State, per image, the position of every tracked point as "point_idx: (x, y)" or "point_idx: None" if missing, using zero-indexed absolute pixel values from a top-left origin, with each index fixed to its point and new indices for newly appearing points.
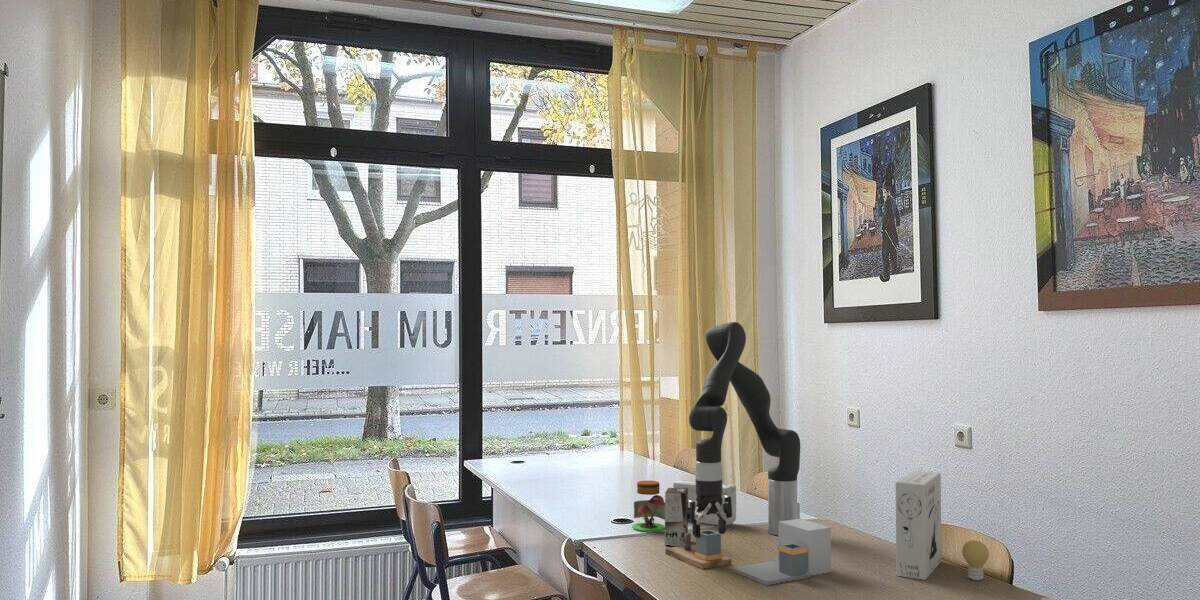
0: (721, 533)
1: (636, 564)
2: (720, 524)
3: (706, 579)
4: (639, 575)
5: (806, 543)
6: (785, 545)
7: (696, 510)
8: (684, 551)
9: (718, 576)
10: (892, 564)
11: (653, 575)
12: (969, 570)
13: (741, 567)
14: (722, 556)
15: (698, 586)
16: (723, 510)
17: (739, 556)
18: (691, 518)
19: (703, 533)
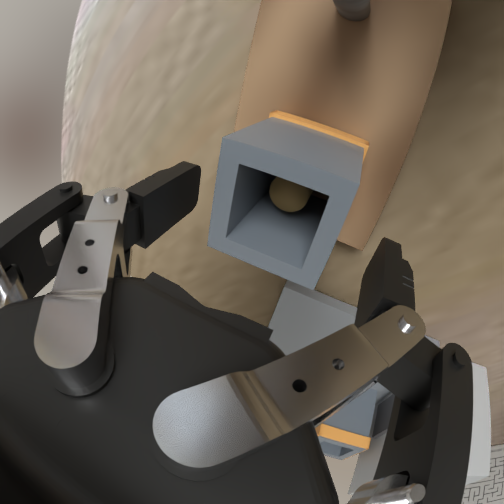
0: (369, 262)
1: (116, 17)
2: (371, 294)
3: (176, 250)
4: (77, 111)
5: (359, 463)
6: (330, 442)
7: (70, 254)
8: (311, 18)
9: (218, 264)
10: (495, 438)
11: (96, 131)
12: None
13: (307, 303)
14: (372, 206)
15: (136, 259)
16: (440, 388)
17: (484, 216)
18: (56, 249)
19: (225, 208)
